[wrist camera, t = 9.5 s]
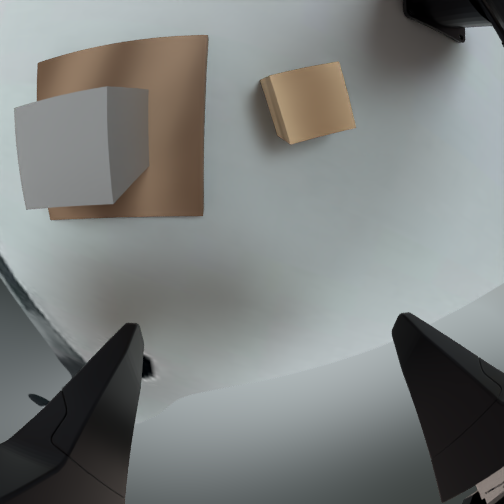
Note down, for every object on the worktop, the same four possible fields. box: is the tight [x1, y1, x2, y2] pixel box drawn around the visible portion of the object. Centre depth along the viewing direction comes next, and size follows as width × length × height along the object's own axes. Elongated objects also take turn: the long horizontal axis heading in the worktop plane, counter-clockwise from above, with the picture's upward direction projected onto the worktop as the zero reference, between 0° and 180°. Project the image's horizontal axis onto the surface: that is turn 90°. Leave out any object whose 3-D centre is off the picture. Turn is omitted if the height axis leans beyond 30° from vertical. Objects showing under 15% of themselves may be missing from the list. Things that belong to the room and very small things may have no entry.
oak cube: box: [260, 62, 356, 145], centre depth 16 cm, size 4×4×4 cm
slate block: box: [14, 86, 149, 210], centre depth 13 cm, size 5×5×7 cm
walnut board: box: [37, 35, 208, 220], centre depth 16 cm, size 12×12×1 cm
